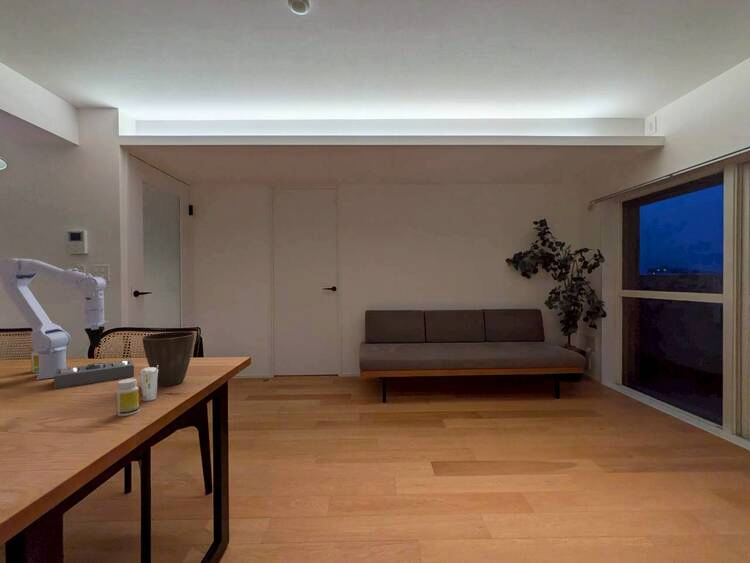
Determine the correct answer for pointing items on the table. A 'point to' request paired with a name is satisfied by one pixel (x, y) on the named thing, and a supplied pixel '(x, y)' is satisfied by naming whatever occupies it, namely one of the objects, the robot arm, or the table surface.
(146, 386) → the milkshake
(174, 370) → the plant pot
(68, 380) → the control panel
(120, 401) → the supplement bottle
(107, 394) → the table surface
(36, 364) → the supplement bottle
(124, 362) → the knob
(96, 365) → the knob middle
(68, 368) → the knob
